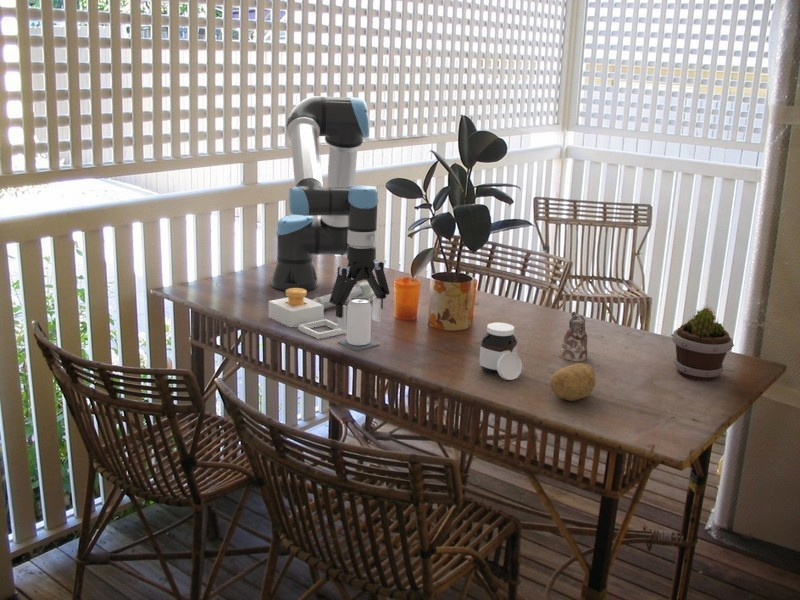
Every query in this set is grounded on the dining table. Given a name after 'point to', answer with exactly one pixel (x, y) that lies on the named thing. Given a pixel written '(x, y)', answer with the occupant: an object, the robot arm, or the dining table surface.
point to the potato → (573, 381)
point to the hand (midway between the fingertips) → (359, 324)
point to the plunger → (296, 296)
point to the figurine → (575, 340)
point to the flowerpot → (701, 346)
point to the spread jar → (500, 351)
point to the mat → (356, 348)
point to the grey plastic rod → (358, 291)
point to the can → (359, 321)
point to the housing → (303, 317)
